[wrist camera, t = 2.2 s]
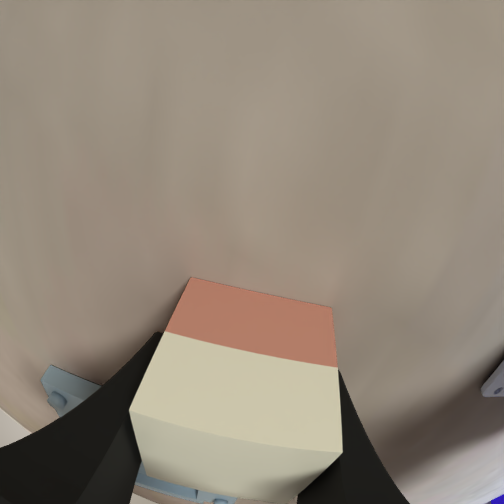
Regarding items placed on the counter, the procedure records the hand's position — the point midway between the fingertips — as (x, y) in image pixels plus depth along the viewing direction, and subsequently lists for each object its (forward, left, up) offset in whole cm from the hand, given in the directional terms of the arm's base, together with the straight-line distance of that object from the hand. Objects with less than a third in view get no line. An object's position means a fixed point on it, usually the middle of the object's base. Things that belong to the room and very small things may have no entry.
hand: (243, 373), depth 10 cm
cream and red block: (0, 0, -1) cm, 1 cm away
